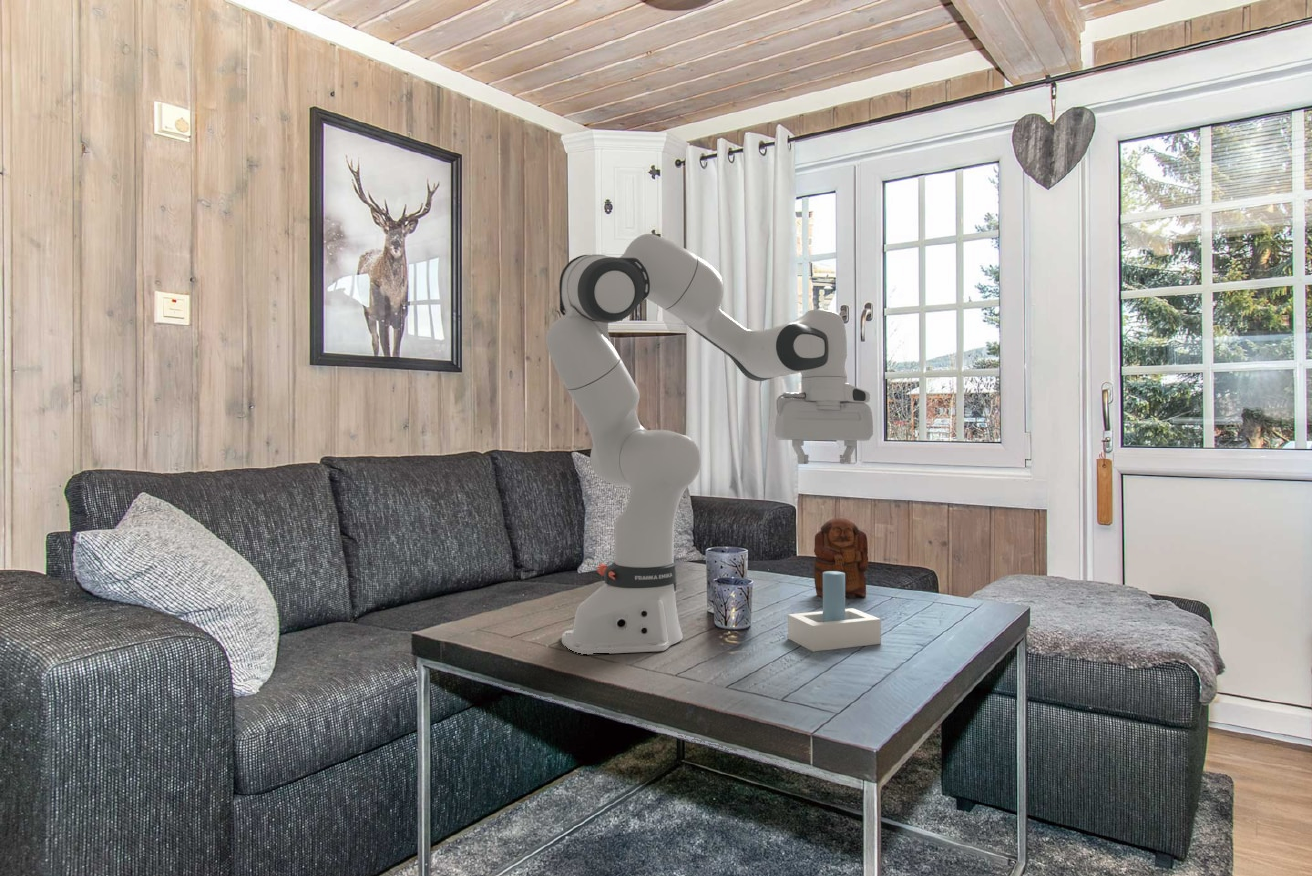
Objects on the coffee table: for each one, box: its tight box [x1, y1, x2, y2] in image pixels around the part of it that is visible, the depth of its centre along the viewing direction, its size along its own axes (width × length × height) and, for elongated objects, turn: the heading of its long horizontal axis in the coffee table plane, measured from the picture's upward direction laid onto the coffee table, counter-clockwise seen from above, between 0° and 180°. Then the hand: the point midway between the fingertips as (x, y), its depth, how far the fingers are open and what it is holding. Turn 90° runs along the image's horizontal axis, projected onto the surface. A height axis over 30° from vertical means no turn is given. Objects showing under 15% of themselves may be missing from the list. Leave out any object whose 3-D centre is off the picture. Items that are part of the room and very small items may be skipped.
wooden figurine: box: [813, 518, 869, 599], centre depth 182 cm, size 12×6×18 cm, turn 97°
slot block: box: [787, 607, 882, 653], centre depth 144 cm, size 14×9×4 cm, turn 109°
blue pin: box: [822, 571, 846, 622], centre depth 144 cm, size 4×4×12 cm
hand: (824, 463), depth 154 cm, fingers open, 8 cm apart
